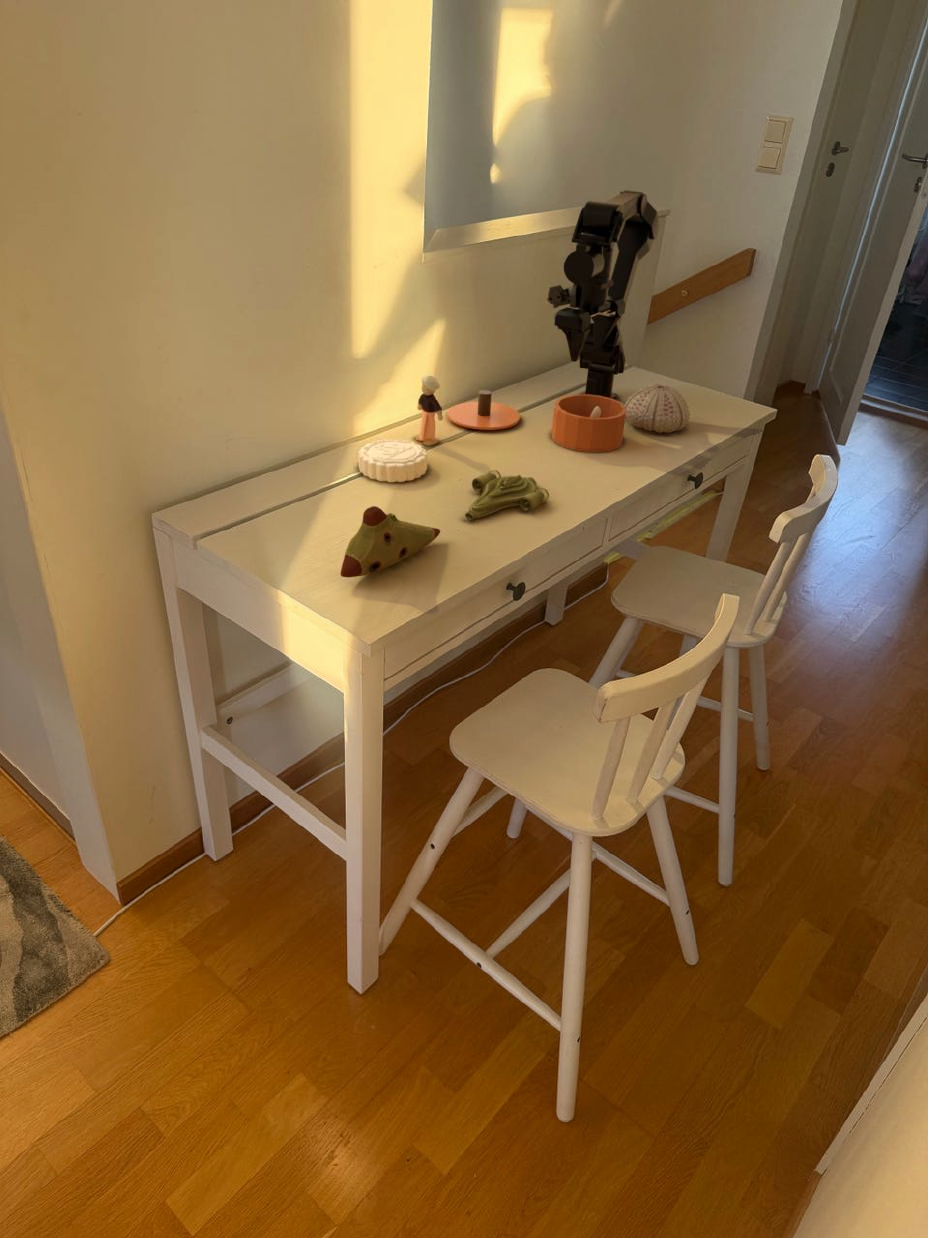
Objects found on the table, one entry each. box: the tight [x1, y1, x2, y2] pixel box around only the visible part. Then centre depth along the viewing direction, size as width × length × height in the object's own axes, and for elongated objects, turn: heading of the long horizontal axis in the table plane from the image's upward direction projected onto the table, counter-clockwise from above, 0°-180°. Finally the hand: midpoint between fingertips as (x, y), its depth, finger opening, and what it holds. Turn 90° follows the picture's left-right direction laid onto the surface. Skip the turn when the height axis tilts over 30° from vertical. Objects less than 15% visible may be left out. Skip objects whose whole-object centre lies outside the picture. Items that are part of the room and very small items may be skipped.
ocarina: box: [340, 505, 441, 578], centre depth 127 cm, size 20×5×10 cm, turn 139°
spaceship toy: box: [464, 469, 550, 521], centre depth 147 cm, size 12×18×4 cm
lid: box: [447, 389, 521, 431], centre depth 178 cm, size 15×15×6 cm
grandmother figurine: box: [415, 374, 444, 446], centre depth 165 cm, size 8×4×13 cm, turn 47°
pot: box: [550, 393, 627, 453], centre depth 172 cm, size 14×14×6 cm
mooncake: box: [358, 439, 428, 483], centre depth 156 cm, size 12×12×4 cm
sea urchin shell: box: [623, 383, 691, 434], centre depth 179 cm, size 13×14×8 cm
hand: (585, 355), depth 178 cm, fingers open, 9 cm apart
